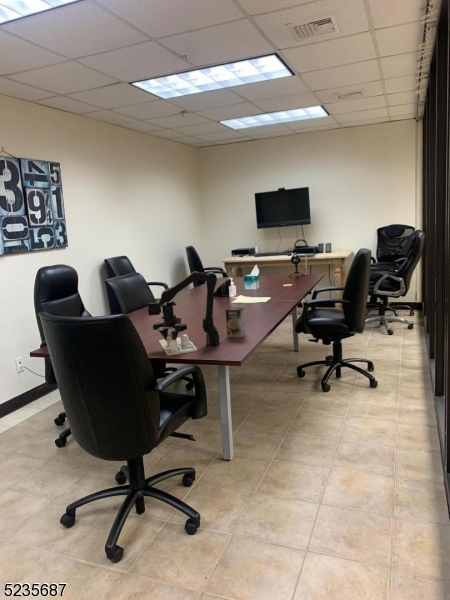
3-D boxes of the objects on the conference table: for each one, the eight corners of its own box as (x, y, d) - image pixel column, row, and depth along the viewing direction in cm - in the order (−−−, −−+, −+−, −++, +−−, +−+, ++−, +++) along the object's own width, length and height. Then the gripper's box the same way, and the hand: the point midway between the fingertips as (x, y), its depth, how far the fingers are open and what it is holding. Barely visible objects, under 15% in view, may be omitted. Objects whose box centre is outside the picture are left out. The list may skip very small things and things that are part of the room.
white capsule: (180, 351, 234) (178, 339, 233) (174, 353, 230) (173, 341, 229) (173, 350, 236) (172, 338, 235) (168, 352, 233) (166, 340, 232)
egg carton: (197, 352, 233) (197, 349, 232) (167, 356, 228) (167, 353, 228) (185, 337, 262) (185, 334, 262) (158, 341, 258) (158, 338, 258)
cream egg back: (190, 345, 243) (189, 333, 242) (185, 347, 239) (184, 336, 238) (184, 344, 245) (183, 333, 244) (179, 347, 242) (178, 335, 240)
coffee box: (226, 337, 256) (224, 309, 253) (230, 334, 262) (228, 307, 259) (242, 337, 253) (240, 309, 250) (245, 334, 259) (243, 307, 256)
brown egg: (177, 345, 241) (176, 333, 239) (171, 347, 237) (170, 335, 236) (171, 344, 243) (169, 332, 242) (165, 346, 239) (164, 334, 238)
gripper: (191, 311, 239) (194, 339, 242) (163, 310, 248) (166, 337, 251) (179, 316, 230) (182, 345, 233) (150, 314, 239) (153, 342, 242)
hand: (171, 342), depth 240 cm, fingers closed on brown egg, 4 cm apart
